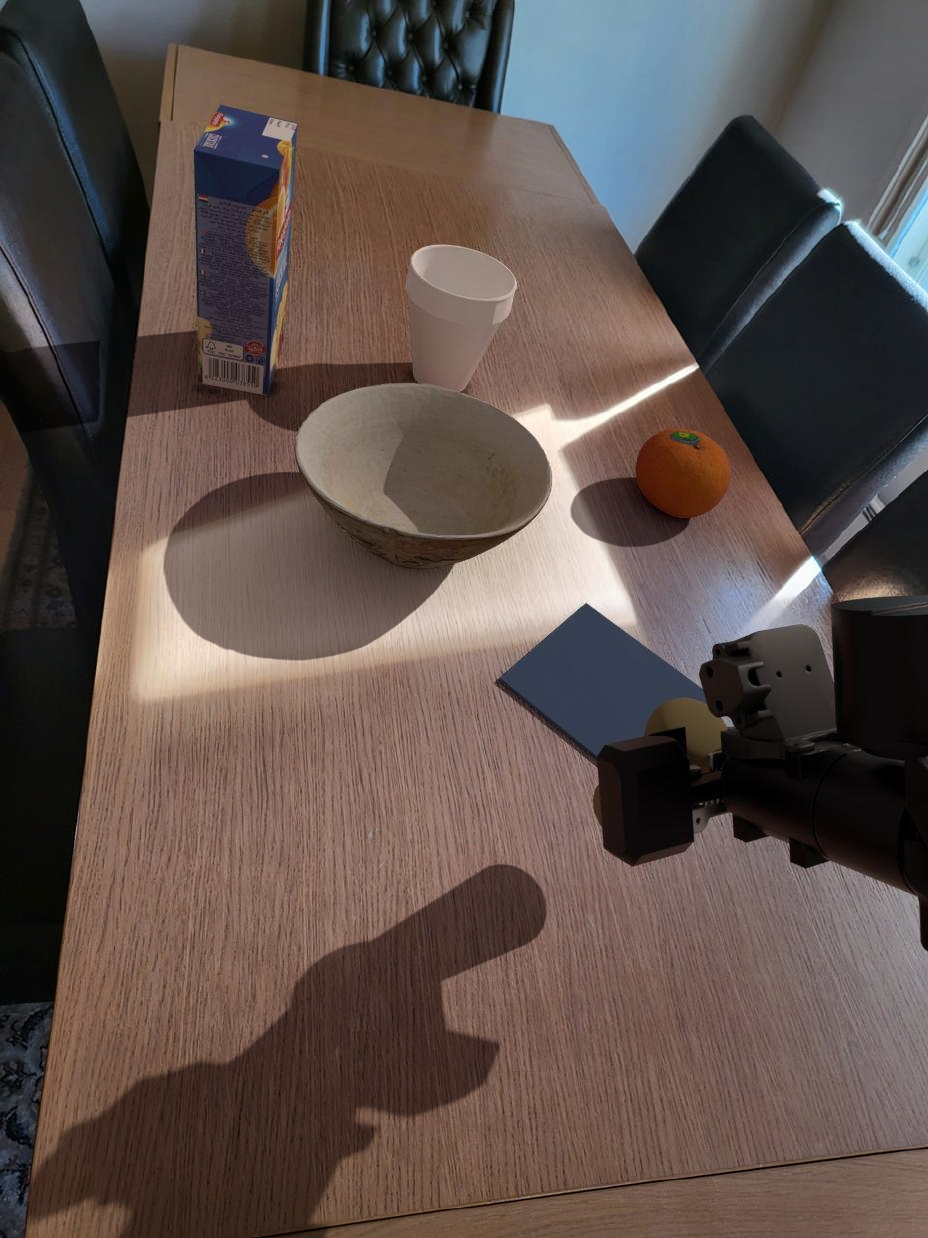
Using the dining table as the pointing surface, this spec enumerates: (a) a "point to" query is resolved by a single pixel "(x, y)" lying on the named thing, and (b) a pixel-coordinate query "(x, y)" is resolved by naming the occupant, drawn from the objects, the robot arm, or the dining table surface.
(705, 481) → the fruit
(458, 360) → the cup
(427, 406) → the bowl
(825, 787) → the robot arm
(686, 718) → the cork
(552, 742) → the dining table surface
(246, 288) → the blue cardboard box
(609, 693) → the book
